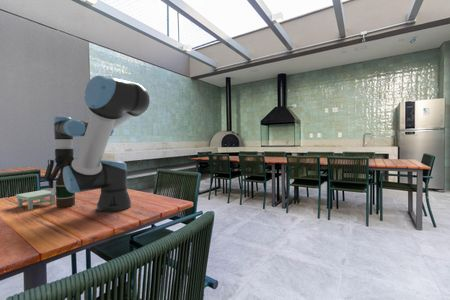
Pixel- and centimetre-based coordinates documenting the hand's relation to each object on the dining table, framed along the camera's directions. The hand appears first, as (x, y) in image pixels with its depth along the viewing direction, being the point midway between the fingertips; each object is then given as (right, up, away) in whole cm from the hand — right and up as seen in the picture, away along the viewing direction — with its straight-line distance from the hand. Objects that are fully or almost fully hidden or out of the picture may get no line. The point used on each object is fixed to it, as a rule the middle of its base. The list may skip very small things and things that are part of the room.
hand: (65, 192), depth 115 cm
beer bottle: (0, -7, 0) cm, 7 cm away
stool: (-15, -7, +1) cm, 17 cm away
